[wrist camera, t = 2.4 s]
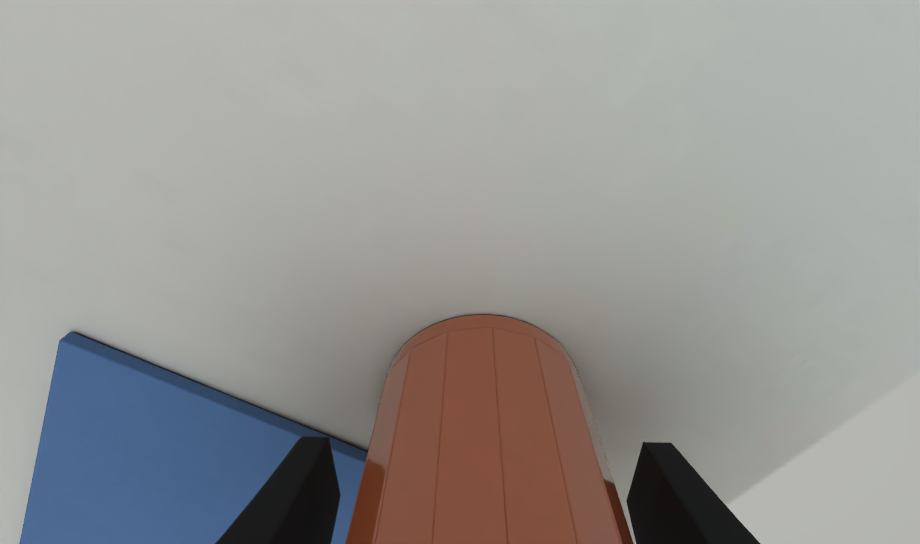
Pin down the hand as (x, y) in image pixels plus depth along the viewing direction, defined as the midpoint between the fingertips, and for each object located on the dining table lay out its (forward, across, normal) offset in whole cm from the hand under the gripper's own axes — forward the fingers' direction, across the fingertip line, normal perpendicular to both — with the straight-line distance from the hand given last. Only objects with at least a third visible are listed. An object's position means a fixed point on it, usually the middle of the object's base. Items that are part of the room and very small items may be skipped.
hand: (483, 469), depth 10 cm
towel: (+2, +10, +9) cm, 14 cm away
